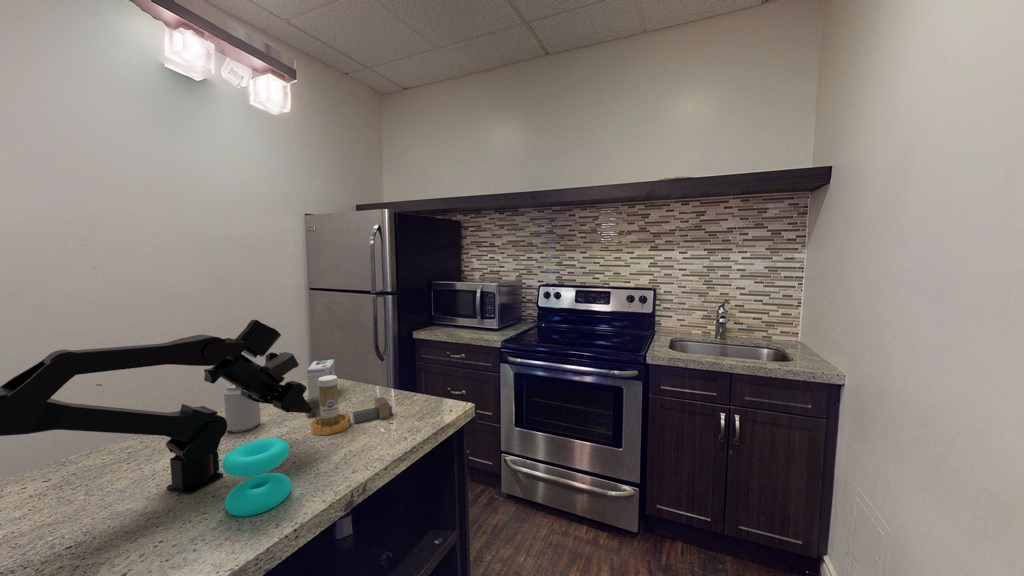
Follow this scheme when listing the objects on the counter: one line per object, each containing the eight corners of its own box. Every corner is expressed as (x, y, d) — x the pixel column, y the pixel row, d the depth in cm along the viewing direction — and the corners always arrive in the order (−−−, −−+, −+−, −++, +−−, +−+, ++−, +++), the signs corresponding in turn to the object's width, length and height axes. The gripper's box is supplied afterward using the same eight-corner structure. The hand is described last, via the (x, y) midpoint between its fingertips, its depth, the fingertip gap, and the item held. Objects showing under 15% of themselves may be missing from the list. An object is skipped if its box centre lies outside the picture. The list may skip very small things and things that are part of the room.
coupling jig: (354, 440, 92) (353, 422, 91) (275, 428, 99) (273, 412, 99) (396, 413, 108) (395, 397, 108) (325, 404, 115) (324, 390, 115)
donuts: (211, 452, 66) (272, 431, 75) (215, 507, 67) (276, 479, 75) (236, 468, 61) (299, 443, 69) (240, 528, 61) (302, 496, 70)
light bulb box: (314, 392, 128) (312, 360, 127) (336, 389, 130) (334, 358, 129) (307, 403, 117) (305, 369, 117) (331, 400, 119) (329, 366, 119)
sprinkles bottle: (325, 433, 96) (322, 381, 95) (317, 428, 99) (314, 377, 98) (343, 426, 99) (340, 376, 98) (335, 422, 102) (332, 373, 101)
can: (267, 421, 104) (264, 378, 103) (245, 434, 96) (242, 388, 95) (242, 421, 104) (239, 378, 104) (218, 433, 97) (215, 387, 96)
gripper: (295, 347, 82) (343, 383, 92) (252, 340, 91) (300, 373, 101) (257, 394, 75) (313, 427, 85) (215, 381, 85) (270, 412, 95)
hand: (299, 407), depth 92 cm, fingers open, 9 cm apart
